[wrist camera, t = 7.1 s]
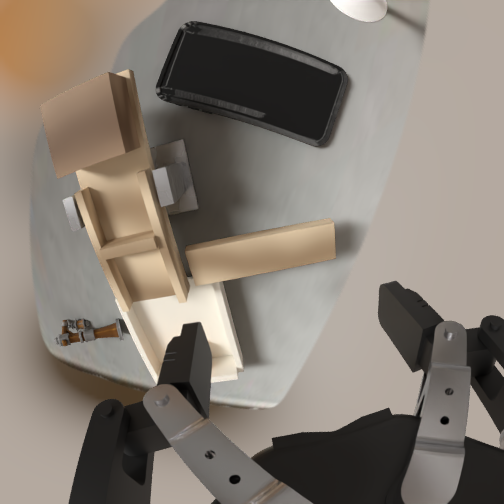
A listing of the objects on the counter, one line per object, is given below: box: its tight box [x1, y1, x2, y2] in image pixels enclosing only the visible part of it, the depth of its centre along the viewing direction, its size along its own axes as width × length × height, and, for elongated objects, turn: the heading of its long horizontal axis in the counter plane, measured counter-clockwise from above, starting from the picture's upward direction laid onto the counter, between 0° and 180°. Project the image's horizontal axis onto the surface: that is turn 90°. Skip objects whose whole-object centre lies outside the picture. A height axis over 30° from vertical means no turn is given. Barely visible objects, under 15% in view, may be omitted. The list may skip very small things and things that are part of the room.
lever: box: [41, 69, 336, 312], centre depth 17 cm, size 17×17×4 cm
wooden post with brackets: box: [54, 319, 124, 347], centre depth 27 cm, size 2×8×4 cm, turn 89°
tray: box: [115, 277, 244, 384], centre depth 27 cm, size 11×10×4 cm
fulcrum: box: [63, 139, 199, 231], centre depth 20 cm, size 6×9×7 cm, turn 100°
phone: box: [156, 21, 348, 146], centre depth 20 cm, size 8×1×15 cm
